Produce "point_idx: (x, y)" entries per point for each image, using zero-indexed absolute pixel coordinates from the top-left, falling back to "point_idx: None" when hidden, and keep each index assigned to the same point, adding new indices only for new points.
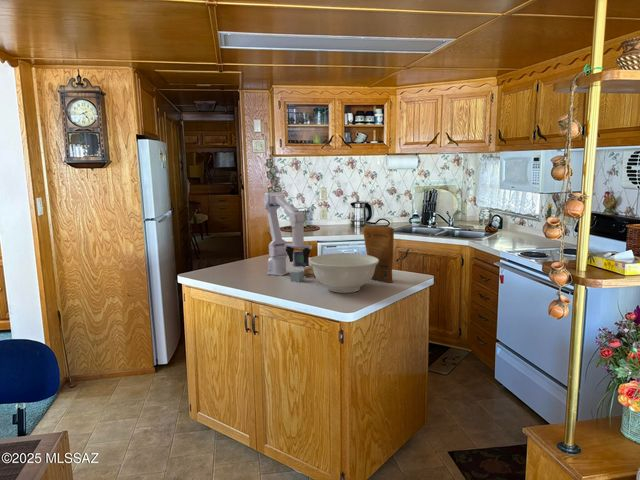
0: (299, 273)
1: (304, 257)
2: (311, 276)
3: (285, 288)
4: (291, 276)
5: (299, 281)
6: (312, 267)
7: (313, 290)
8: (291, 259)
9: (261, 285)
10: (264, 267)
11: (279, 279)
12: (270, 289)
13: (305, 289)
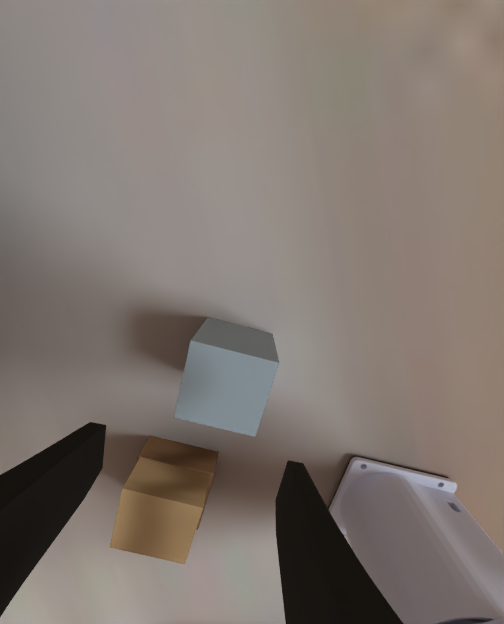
0: (191, 341)
1: (4, 489)
2: (161, 444)
3: (263, 111)
4: (266, 344)
5: (206, 320)
6: (145, 532)
7: (33, 79)
8: (291, 503)
9: (464, 181)
10: None
11: (355, 369)
12: (377, 54)
13: (103, 103)
